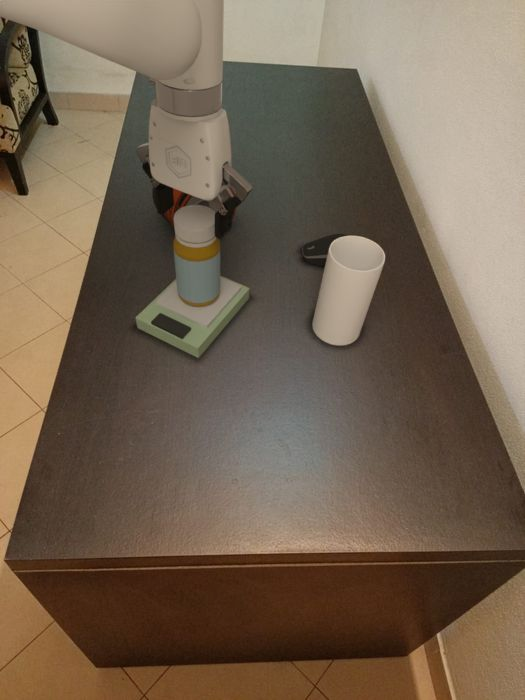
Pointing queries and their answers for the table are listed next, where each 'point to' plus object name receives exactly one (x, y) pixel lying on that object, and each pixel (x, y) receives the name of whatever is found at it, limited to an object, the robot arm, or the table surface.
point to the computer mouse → (319, 249)
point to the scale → (191, 317)
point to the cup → (347, 288)
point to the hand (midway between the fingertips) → (193, 221)
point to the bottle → (196, 255)
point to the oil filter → (187, 203)
